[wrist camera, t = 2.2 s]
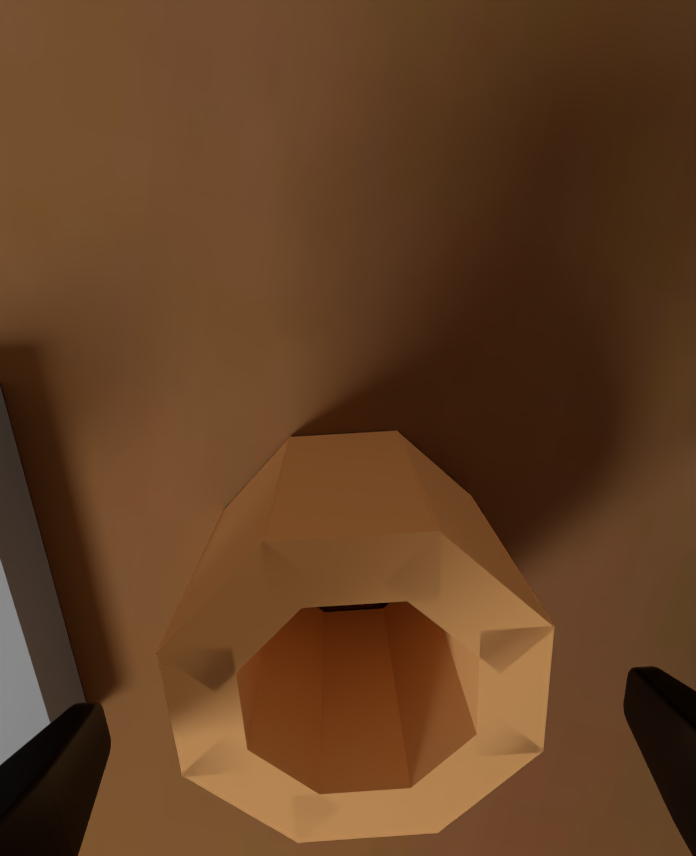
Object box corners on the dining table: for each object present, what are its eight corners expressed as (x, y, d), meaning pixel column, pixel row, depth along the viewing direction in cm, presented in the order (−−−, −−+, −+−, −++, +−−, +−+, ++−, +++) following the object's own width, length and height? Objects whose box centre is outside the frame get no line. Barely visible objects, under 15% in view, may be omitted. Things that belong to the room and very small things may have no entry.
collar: (472, 425, 12) (565, 521, 7) (467, 638, 14) (536, 826, 9) (213, 440, 12) (134, 549, 7) (243, 653, 14) (196, 850, 9)
